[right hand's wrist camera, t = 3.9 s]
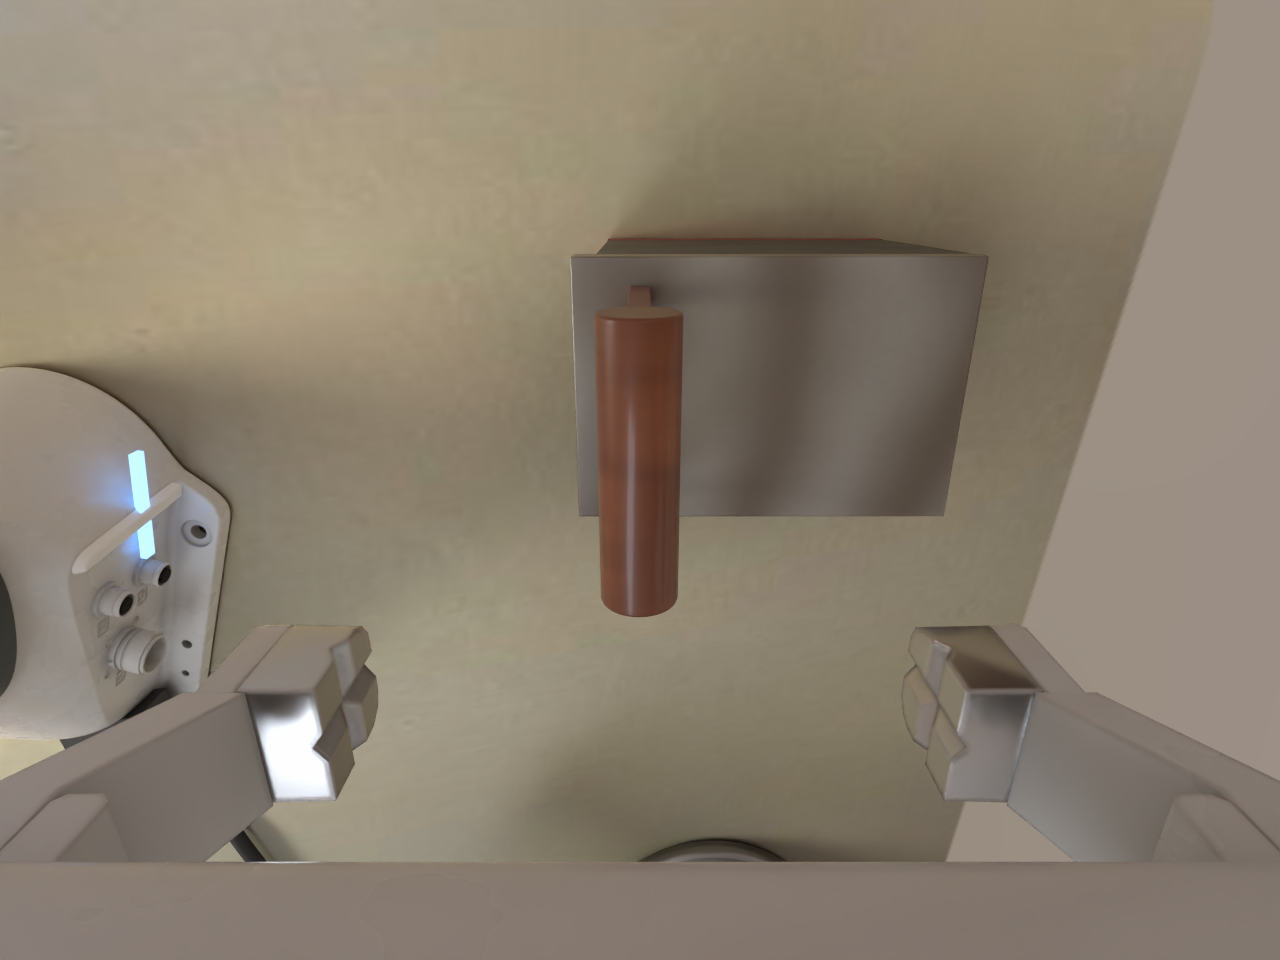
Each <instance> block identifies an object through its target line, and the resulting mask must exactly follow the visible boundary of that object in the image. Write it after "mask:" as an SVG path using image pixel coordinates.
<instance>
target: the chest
mask: <svg viewBox="0 0 1280 960" xmlns="http://www.w3.org/2000/svg"><path fill="white" fill-rule="evenodd" d="M597 254H970V253H964V252H957V251H951V250H944V249H938V248H931V247H925V246H918V245H912V244H905V243H899V242H892V241H886V240H882V239H608V242H607V243H606V244H605V245H604V246H603V247H602V248H601V250H600V251H599V252H598V253H597Z"/></svg>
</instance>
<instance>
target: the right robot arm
mask: <svg viewBox="0 0 1280 960" xmlns="http://www.w3.org/2000/svg"><path fill="white" fill-rule="evenodd" d="M229 524H230V508H229V505H228V504H227V502H226V501H225V499H224V498H223V497H222V496H221V495H220V494H219V493H218V492H216V491H215V490H214V489H213V488H211V487H210V486H209V485H207V484H206V483H204V482H203V481H201V480H200V479H198V478H197V477H195V476H194V475H192V474H191V473H189V472H188V471H186V470H185V469H184V468H183V467H182V466H181V465H180V464H179V463H178V462H177V461H176V460H175V458H174V457H173V456H172V455H171V453H170V452H169V451H168V449H167V448H166V447H165V446H164V444H163V443H162V442H161V440H160V439H159V438H158V437H157V436H156V434H155V433H154V432H153V431H152V430H151V429H150V428H149V427H148V426H147V425H146V424H145V423H144V422H143V421H142V420H141V419H140V418H139V417H138V416H137V415H136V414H134V413H133V412H132V411H131V410H130V409H128V408H127V407H126V406H124V405H123V404H122V403H120V402H119V401H118V400H116V399H115V398H113V397H111V396H110V395H108V394H107V393H105V392H103V391H101V390H100V389H98V388H96V387H94V386H92V385H90V384H88V383H85V382H83V381H81V380H78V379H76V378H73V377H70V376H67V375H64V374H61V373H57V372H53V371H49V370H44V369H37V368H28V367H6V368H0V738H8V739H19V740H60V741H61V743H62V745H63V746H64V748H65V750H63V751H61V752H59V753H57V754H55V755H53V756H51V757H48V758H46V759H44V760H42V761H40V762H38V763H36V764H34V765H32V766H30V767H28V768H26V769H23V770H21V771H19V772H17V773H15V774H13V775H11V776H9V777H7V778H5V779H3V780H1V781H0V960H1280V781H1279V780H1277V779H1275V778H1273V777H1271V776H1269V775H1266V774H1264V773H1262V772H1260V771H1258V770H1256V769H1254V768H1252V767H1250V766H1248V765H1246V764H1244V763H1242V762H1239V761H1237V760H1235V759H1233V758H1231V757H1229V756H1227V755H1225V754H1223V753H1221V752H1219V751H1217V750H1215V749H1213V748H1210V747H1208V746H1206V745H1204V744H1202V743H1200V742H1198V741H1196V740H1194V739H1192V738H1190V737H1188V736H1186V735H1183V734H1181V733H1179V732H1177V731H1175V730H1173V729H1171V728H1169V727H1167V726H1165V725H1163V724H1161V723H1159V722H1156V721H1154V720H1152V719H1150V718H1148V717H1146V716H1144V715H1142V714H1140V713H1138V712H1136V711H1134V710H1132V709H1130V708H1128V707H1125V706H1123V705H1121V704H1119V703H1117V702H1115V701H1113V700H1111V699H1109V698H1107V697H1105V696H1103V695H1101V694H1099V693H1085V692H1084V690H1083V689H1082V688H1081V687H1080V686H1079V685H1078V684H1077V683H1076V682H1075V681H1074V680H1073V678H1072V677H1071V676H1070V675H1069V674H1068V673H1067V672H1066V671H1065V670H1064V669H1063V668H1062V666H1061V665H1060V664H1059V663H1058V662H1057V661H1056V660H1055V659H1054V658H1053V657H1052V656H1051V654H1050V653H1049V652H1048V651H1047V650H1046V649H1045V648H1044V647H1043V646H1042V645H1041V644H1040V642H1039V641H1038V640H1037V639H1036V638H1035V637H1034V636H1033V635H1032V634H1031V633H1030V632H1029V630H1028V629H1027V628H1025V627H1023V626H1020V625H1018V624H1010V625H984V626H953V627H915V629H914V631H913V633H912V635H911V639H910V644H909V650H908V651H909V653H910V655H911V657H912V658H913V660H914V662H915V663H916V665H915V666H914V667H913V668H912V669H911V670H910V671H909V672H908V673H907V674H906V675H905V676H904V680H903V688H902V706H903V715H904V719H905V722H906V726H907V729H908V731H909V733H910V735H911V737H912V739H913V741H914V742H916V743H917V744H919V745H920V746H922V747H923V748H925V749H926V750H928V751H927V757H926V762H925V765H926V766H927V768H928V770H929V772H930V774H931V776H932V778H933V780H934V782H935V784H936V786H937V788H938V790H939V792H940V793H941V795H942V797H943V799H944V801H974V802H1007V806H1008V807H1010V808H1011V809H1012V810H1013V811H1014V812H1016V813H1017V814H1018V815H1019V816H1020V817H1022V818H1023V819H1024V820H1025V821H1027V822H1028V823H1029V824H1030V825H1031V826H1033V827H1034V828H1035V829H1036V830H1038V831H1039V832H1040V833H1041V834H1042V835H1044V836H1045V837H1046V838H1047V839H1048V840H1050V841H1051V842H1052V843H1053V844H1054V845H1056V846H1057V847H1058V848H1059V849H1061V850H1062V851H1063V852H1064V853H1066V854H1067V855H1068V856H1069V857H1070V858H1072V859H1073V860H1074V861H1075V862H267V861H266V860H265V859H264V857H263V856H262V855H261V853H260V852H259V851H258V850H257V848H256V847H255V846H254V844H253V843H252V842H251V840H250V839H249V837H248V836H247V835H246V833H245V832H244V829H245V828H246V827H248V826H249V825H250V824H251V823H253V822H254V821H255V820H256V819H257V818H259V817H260V816H261V815H262V814H264V813H265V812H266V811H267V810H268V809H270V808H271V807H272V806H273V803H272V802H305V801H336V799H337V797H338V796H339V794H340V792H341V790H342V788H343V786H344V784H345V782H346V780H347V778H348V776H349V774H350V772H351V770H352V768H353V766H354V765H355V762H354V757H353V751H352V750H354V749H355V748H357V747H358V746H360V745H361V744H363V743H364V742H366V741H367V739H368V737H369V735H370V733H371V730H372V728H373V726H374V722H375V718H376V713H377V709H378V686H377V680H376V676H375V675H374V674H373V673H372V672H371V671H370V670H369V669H368V668H367V667H366V666H365V665H364V663H365V662H366V660H367V658H368V657H369V655H370V653H371V651H372V650H371V645H370V640H369V636H368V632H367V631H366V630H365V629H364V628H363V627H362V626H327V625H295V626H294V625H261V626H257V627H254V628H253V629H252V631H251V632H250V633H249V634H248V635H247V636H246V637H245V638H244V639H243V640H242V641H241V643H240V644H239V645H238V646H237V647H236V648H235V649H234V650H233V651H232V652H231V653H230V654H229V656H228V657H227V658H226V659H225V660H224V661H223V662H222V663H221V664H220V665H219V666H218V668H217V669H216V670H215V671H214V672H213V673H212V674H211V675H210V676H209V677H208V671H209V664H210V657H211V650H212V643H213V636H214V629H215V622H216V615H217V608H218V601H219V594H220V587H221V580H222V573H223V566H224V559H225V552H226V545H227V538H228V531H229ZM198 525H199V526H202V527H203V528H204V529H205V530H206V533H204V532H202V531H201V530H200V529H199V527H198ZM229 841H230V842H231V844H232V845H233V846H234V848H235V849H236V850H237V852H238V853H239V854H240V856H241V857H242V858H243V860H244V861H245V862H205V861H206V860H207V859H209V858H210V857H211V856H212V855H214V854H215V853H216V852H217V851H218V850H220V849H221V848H222V847H223V846H225V845H226V844H227V843H228V842H229Z"/></svg>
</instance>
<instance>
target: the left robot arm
mask: <svg viewBox="0 0 1280 960" xmlns="http://www.w3.org/2000/svg"><path fill="white" fill-rule="evenodd" d="M640 862H784V861H783V860H781V859H780V858H778V857H776V856H775V855H773V854H771V853H769V852H767V851H765V850H762V849H759V848H757V847H754V846H750V845H746V844H742V843H737V842H729V841H697V842H689V843H684V844H679V845H676V846H672V847H669V848H666V849H663V850H661V851H658V852H656V853H654V854H652V855H650V856H648V857H646V858H644V859H643V860H641V861H640Z"/></svg>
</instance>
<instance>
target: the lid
mask: <svg viewBox="0 0 1280 960" xmlns="http://www.w3.org/2000/svg"><path fill="white" fill-rule="evenodd" d="M987 263H988V256H984V255H977V254H574V255H572V256H571V257H570V277H571V304H572V332H573V359H574V387H575V414H576V442H577V469H578V497H579V515H580V516H599V530H600V570H601V598H602V601H603V603H604V604H605V606H606V607H607V608H609V609H610V610H612V611H613V612H615V613H618V614H621V615H625V616H631V617H647V616H654V615H657V614H660V613H663V612H665V611H667V610H669V609H670V608H671V607H672V606H673V605H674V604H675V602H676V600H677V597H678V553H679V516H943V515H944V511H945V505H946V499H947V494H948V488H949V482H950V476H951V471H952V465H953V459H954V453H955V448H956V442H957V436H958V430H959V425H960V419H961V413H962V407H963V402H964V396H965V390H966V384H967V379H968V373H969V367H970V361H971V356H972V350H973V344H974V338H975V333H976V327H977V321H978V315H979V310H980V304H981V298H982V292H983V287H984V281H985V275H986V269H987Z"/></svg>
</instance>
